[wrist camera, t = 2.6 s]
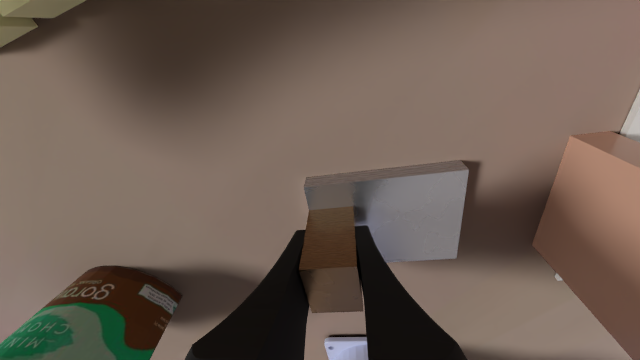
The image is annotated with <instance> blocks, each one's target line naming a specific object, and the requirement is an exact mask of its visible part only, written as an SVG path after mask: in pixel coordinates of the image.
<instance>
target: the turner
mask: <svg viewBox="0 0 640 360" xmlns="http://www.w3.org/2000/svg"><path fill="white" fill-rule="evenodd" d="M468 173H469V169H468V168H467V167H466V166H465V165H464V164H463V163H462V161H461V160H458V161H450V162H441V163H432V164H423V165H414V166H405V167H396V168H387V169H378V170H370V171H361V172H352V173H343V174H334V175H325V176H316V177H307V178H306V180H305V184H304V190H305V194H306V199H307V203H308V207H309V215H308V220H307V226H306V232H305V237H304V244H303V248H302V254H301V260H300V265H299V273H300V276H301V279H302V282H303V285H304V289H305V292H306V295H307V298H308V301H309V305H310V308H311V311H312V313H323V312H357V311H363V300H362V287H361V278H360V271H359V263H358V255H357V248H356V240H355V226H363V225H367V226H368V227H369V230H370V233H371V235H372V238H373V240H374V242H375V244H376V246H377V248H378V250H379V252H380V253H381V255H382V257H383V259H384V260H385V262H404V261H421V260H438V259H456V258H457V251H458V244H459V237H460V229H461V222H462V215H463V208H464V201H465V194H466V187H467V180H468Z"/></svg>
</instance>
